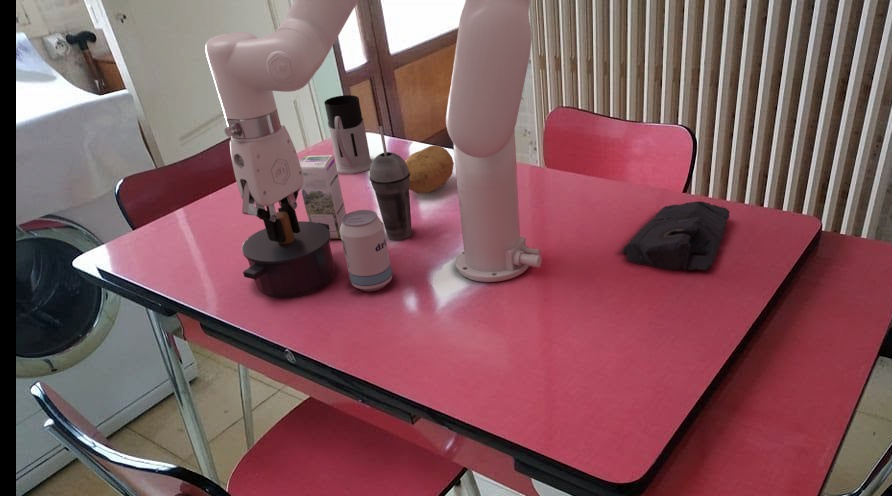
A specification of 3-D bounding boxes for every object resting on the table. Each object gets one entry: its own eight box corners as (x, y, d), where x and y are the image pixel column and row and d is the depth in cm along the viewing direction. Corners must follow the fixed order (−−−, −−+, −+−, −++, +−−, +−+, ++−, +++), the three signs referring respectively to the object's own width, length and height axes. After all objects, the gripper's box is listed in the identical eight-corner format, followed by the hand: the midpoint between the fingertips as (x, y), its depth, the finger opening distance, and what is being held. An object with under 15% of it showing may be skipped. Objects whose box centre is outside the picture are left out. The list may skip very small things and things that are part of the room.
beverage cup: (382, 246, 126) (362, 138, 114) (377, 230, 131) (358, 125, 119) (422, 239, 127) (406, 131, 115) (415, 223, 133) (399, 118, 121)
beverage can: (387, 294, 112) (375, 226, 104) (346, 294, 113) (331, 227, 105) (397, 273, 117) (386, 207, 110) (358, 273, 118) (344, 208, 111)
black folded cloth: (742, 222, 124) (746, 197, 121) (705, 278, 109) (709, 251, 106) (660, 208, 130) (662, 185, 128) (615, 260, 116) (616, 234, 113)
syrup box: (350, 226, 134) (334, 153, 125) (341, 240, 129) (325, 165, 120) (321, 226, 134) (304, 154, 126) (312, 240, 130) (293, 166, 121)
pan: (360, 259, 122) (353, 225, 118) (289, 312, 109) (279, 276, 105) (302, 247, 128) (293, 214, 124) (228, 297, 115) (216, 261, 111)
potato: (390, 199, 143) (384, 162, 138) (427, 175, 152) (423, 139, 148) (429, 206, 139) (424, 168, 134) (465, 180, 148) (461, 144, 143)
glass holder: (375, 158, 163) (364, 93, 154) (367, 181, 152) (354, 112, 143) (338, 160, 163) (325, 95, 154) (328, 184, 152) (312, 115, 143)
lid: (348, 234, 117) (341, 203, 114) (292, 273, 107) (283, 241, 104) (284, 222, 123) (275, 192, 119) (224, 258, 113) (214, 227, 109)
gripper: (233, 145, 96) (268, 262, 107) (309, 110, 107) (333, 219, 118) (195, 140, 99) (232, 254, 110) (272, 106, 110) (299, 213, 121)
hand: (284, 235), depth 114 cm, fingers closed on lid, 2 cm apart
